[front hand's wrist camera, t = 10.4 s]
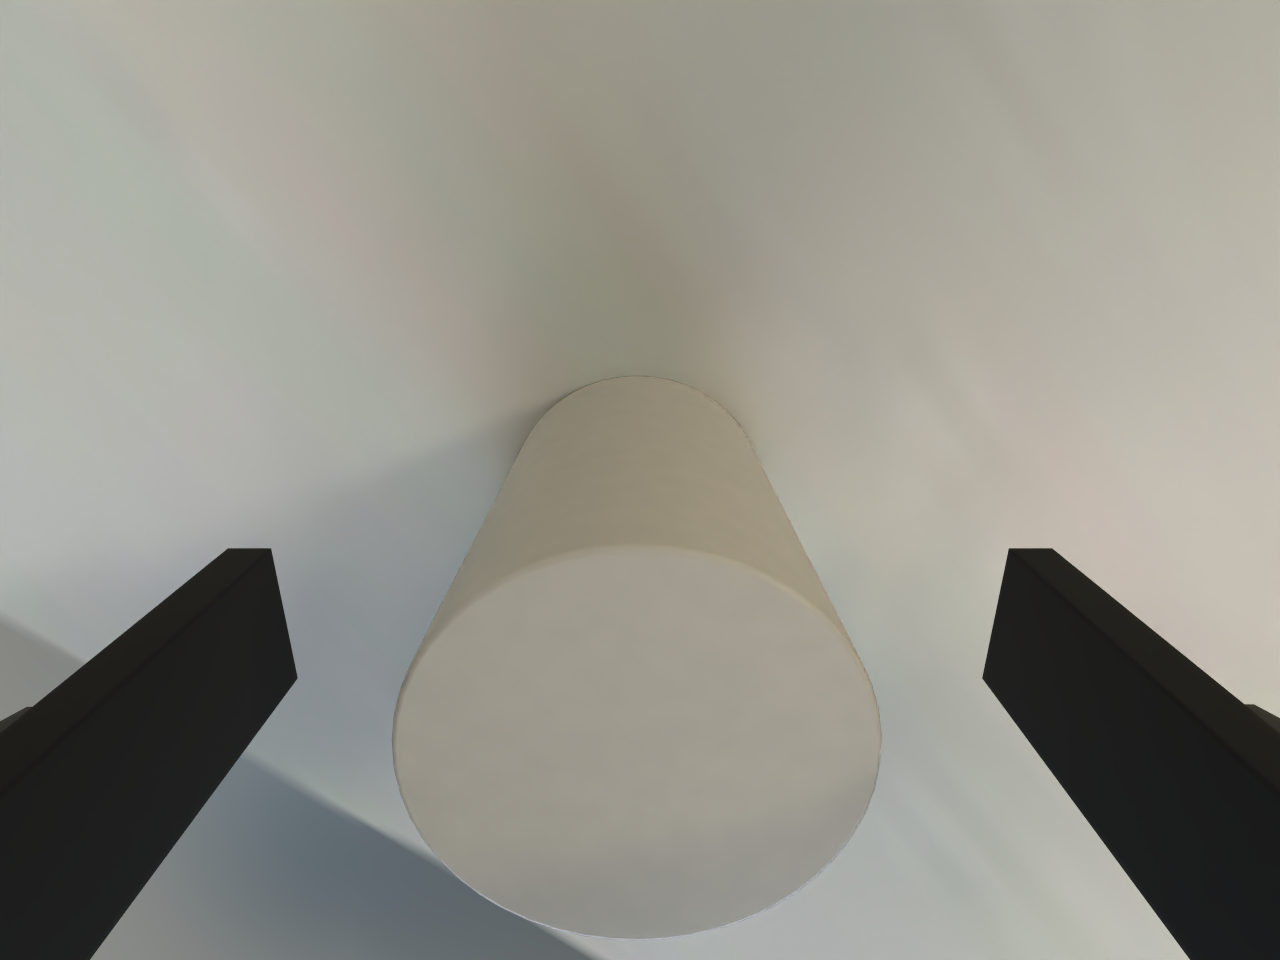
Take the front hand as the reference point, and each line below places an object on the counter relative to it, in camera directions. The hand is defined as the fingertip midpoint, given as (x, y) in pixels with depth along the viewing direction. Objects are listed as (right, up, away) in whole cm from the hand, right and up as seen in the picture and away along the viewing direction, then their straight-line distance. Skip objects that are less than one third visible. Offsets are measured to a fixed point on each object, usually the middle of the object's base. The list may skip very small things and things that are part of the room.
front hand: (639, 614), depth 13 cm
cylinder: (0, +2, +6) cm, 6 cm away
